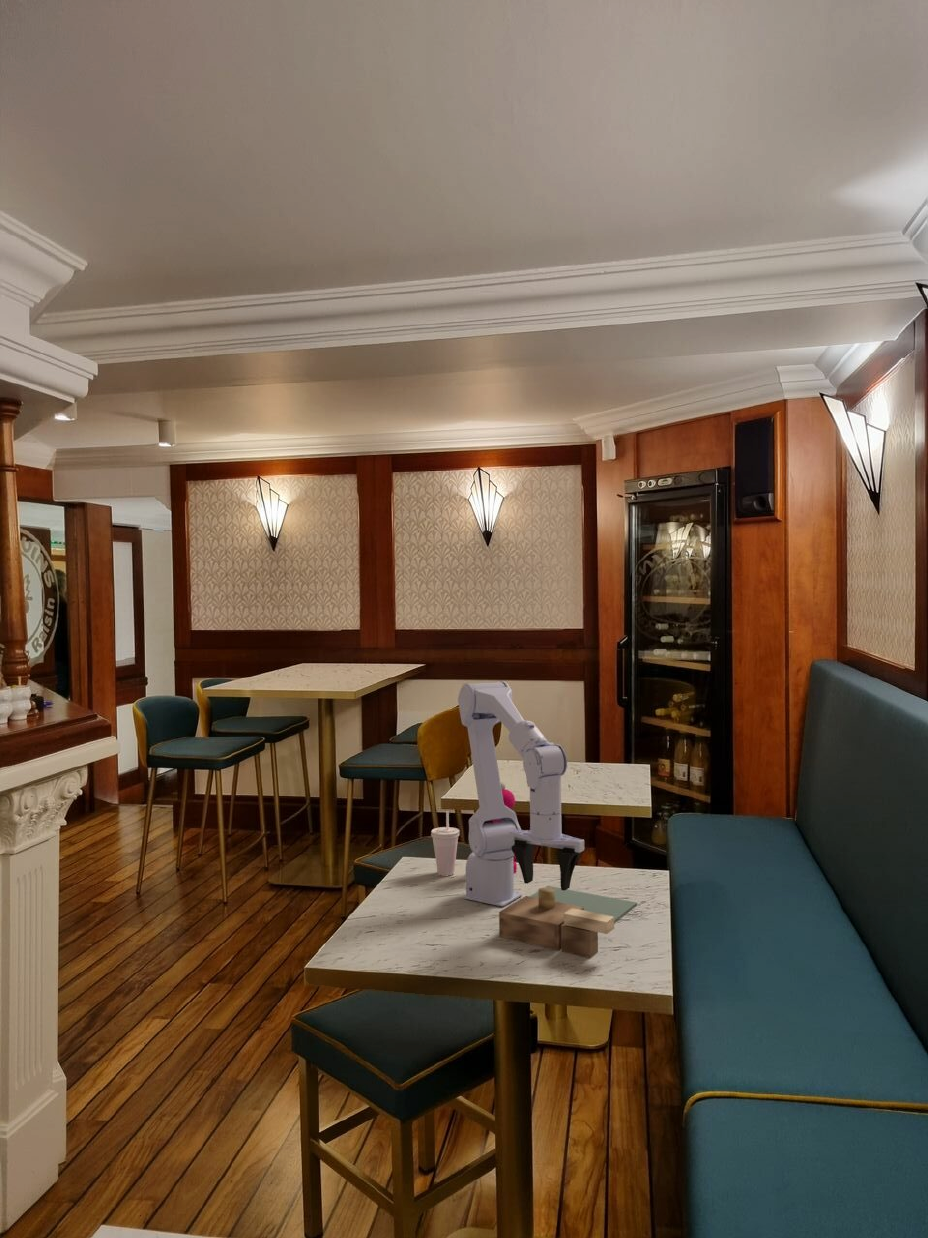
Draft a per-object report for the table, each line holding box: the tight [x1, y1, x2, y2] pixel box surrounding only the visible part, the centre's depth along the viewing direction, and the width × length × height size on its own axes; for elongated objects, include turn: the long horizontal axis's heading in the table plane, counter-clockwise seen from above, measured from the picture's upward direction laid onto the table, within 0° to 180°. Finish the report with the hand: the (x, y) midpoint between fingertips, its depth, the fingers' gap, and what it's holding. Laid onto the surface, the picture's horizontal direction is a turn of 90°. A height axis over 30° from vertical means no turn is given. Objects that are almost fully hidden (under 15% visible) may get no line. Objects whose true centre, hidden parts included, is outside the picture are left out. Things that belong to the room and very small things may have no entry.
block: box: [564, 908, 615, 935], centre depth 149 cm, size 8×3×2 cm, turn 57°
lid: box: [498, 886, 584, 931], centre depth 158 cm, size 12×10×4 cm
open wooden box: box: [498, 917, 599, 959], centre depth 156 cm, size 18×10×4 cm, turn 57°
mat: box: [529, 885, 638, 924], centre depth 172 cm, size 20×14×1 cm
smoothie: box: [430, 810, 460, 877], centre depth 194 cm, size 6×6×14 cm
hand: (546, 885), depth 159 cm, fingers open, 7 cm apart
